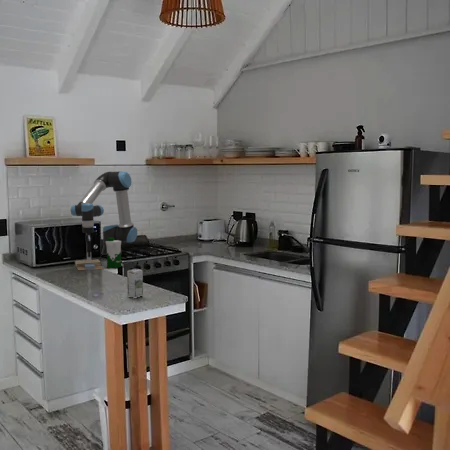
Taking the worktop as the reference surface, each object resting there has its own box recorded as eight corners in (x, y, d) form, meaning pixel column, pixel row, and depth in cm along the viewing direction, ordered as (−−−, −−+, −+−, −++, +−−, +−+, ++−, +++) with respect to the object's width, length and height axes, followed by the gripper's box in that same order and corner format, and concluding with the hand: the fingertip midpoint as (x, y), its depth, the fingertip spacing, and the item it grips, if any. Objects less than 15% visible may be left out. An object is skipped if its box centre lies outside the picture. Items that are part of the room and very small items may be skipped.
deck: (75, 265, 377) (75, 260, 377) (98, 263, 383) (98, 259, 383) (76, 268, 366) (76, 263, 366) (100, 266, 372) (100, 262, 371)
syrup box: (135, 295, 288) (135, 268, 286) (143, 297, 284) (142, 269, 283) (127, 297, 284) (126, 270, 282) (135, 299, 280) (134, 271, 278)
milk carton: (112, 265, 374) (112, 236, 372) (123, 266, 370) (122, 237, 368) (104, 267, 366) (103, 238, 364) (115, 268, 362) (114, 239, 360)
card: (84, 267, 368) (84, 264, 367) (93, 266, 370) (93, 263, 369) (85, 269, 359) (85, 266, 359) (95, 268, 361) (94, 265, 361)
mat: (76, 268, 366) (76, 267, 366) (100, 266, 372) (100, 265, 372) (78, 270, 357) (78, 270, 357) (102, 268, 362) (102, 268, 362)
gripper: (81, 226, 368) (82, 260, 371) (83, 228, 356) (84, 263, 358) (92, 225, 370) (93, 259, 373) (94, 227, 358) (96, 262, 361)
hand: (89, 261), depth 366 cm, fingers closed
